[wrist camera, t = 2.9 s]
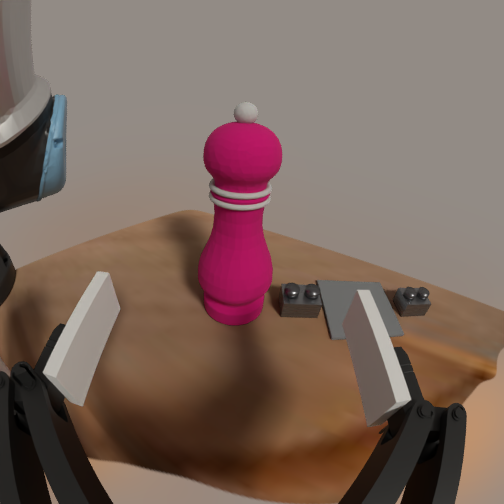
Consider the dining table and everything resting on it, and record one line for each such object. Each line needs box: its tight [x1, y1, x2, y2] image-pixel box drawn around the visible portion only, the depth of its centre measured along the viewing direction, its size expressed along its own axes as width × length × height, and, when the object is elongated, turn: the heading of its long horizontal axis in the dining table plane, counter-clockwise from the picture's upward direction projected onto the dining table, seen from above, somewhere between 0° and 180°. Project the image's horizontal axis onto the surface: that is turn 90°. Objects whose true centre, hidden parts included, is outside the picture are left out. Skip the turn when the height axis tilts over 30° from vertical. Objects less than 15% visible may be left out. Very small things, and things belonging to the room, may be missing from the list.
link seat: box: [317, 280, 404, 340], centre depth 29 cm, size 9×9×1 cm
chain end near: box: [279, 283, 322, 318], centre depth 28 cm, size 4×3×3 cm
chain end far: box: [393, 287, 431, 317], centre depth 29 cm, size 4×3×3 cm
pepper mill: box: [198, 102, 282, 325], centre depth 23 cm, size 7×7×20 cm
